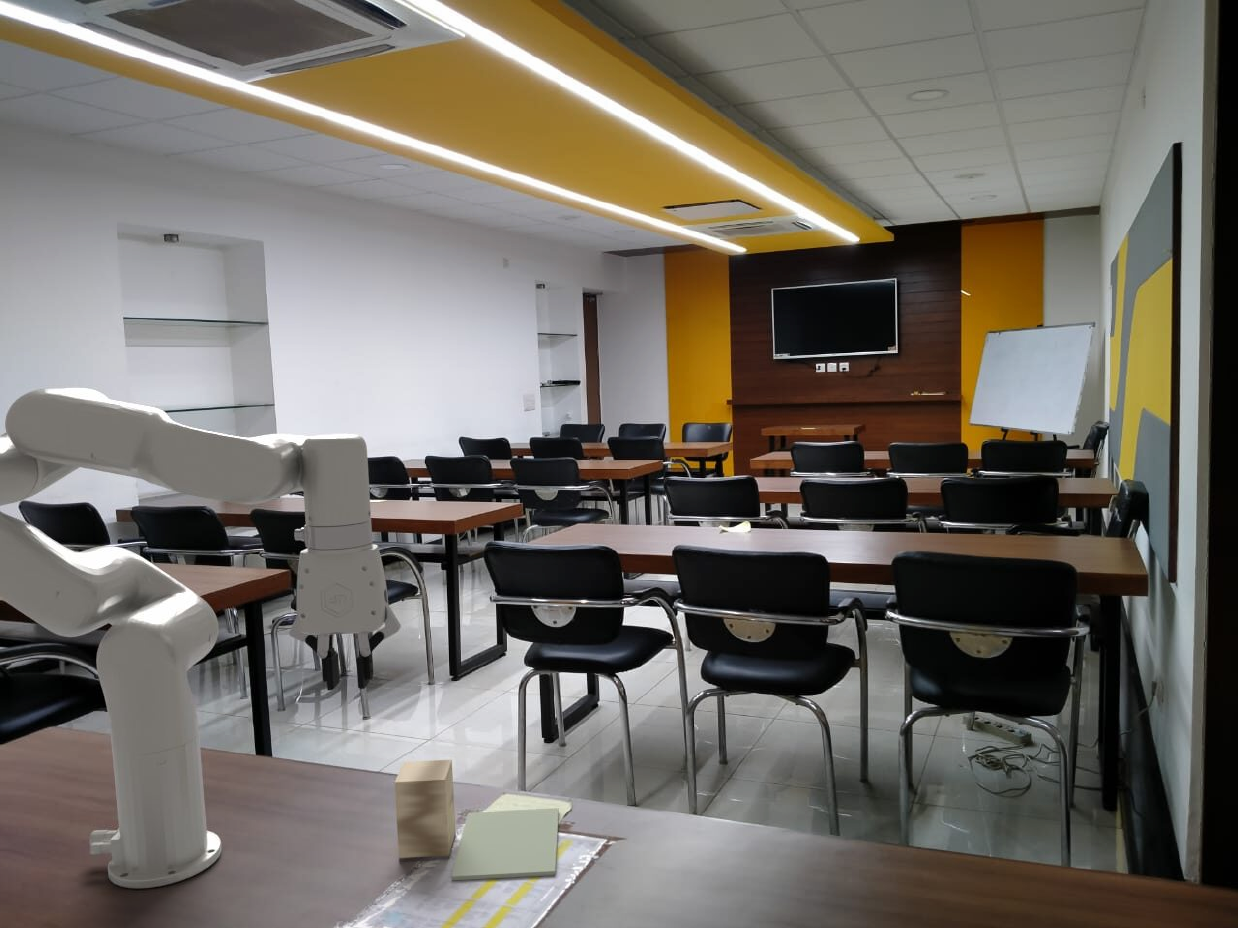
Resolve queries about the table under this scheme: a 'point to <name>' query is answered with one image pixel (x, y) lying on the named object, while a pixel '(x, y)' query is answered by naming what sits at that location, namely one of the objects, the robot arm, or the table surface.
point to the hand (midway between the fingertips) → (348, 684)
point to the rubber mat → (508, 844)
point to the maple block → (425, 810)
